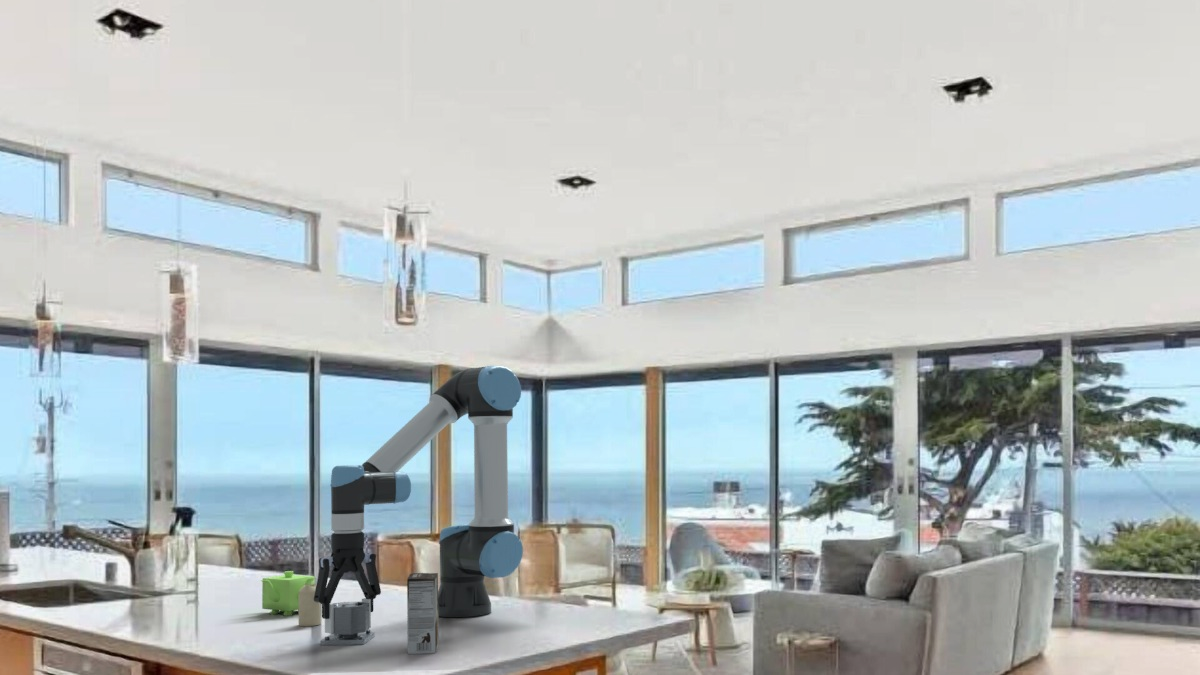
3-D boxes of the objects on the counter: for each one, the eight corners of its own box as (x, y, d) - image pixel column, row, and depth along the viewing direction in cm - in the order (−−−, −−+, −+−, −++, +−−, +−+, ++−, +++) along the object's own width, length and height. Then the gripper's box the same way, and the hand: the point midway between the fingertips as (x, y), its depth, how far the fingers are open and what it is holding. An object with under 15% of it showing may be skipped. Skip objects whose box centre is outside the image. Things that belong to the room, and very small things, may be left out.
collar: (375, 630, 250) (375, 604, 251) (340, 635, 244) (340, 608, 245) (351, 625, 258) (351, 600, 259) (317, 630, 252) (317, 604, 252)
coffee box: (410, 646, 241) (409, 573, 243) (439, 645, 242) (438, 572, 243) (406, 654, 232) (405, 578, 234) (436, 653, 233) (436, 577, 234)
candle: (314, 626, 271) (314, 586, 272) (294, 626, 272) (294, 586, 273) (324, 622, 277) (324, 583, 278) (304, 622, 278) (304, 583, 279)
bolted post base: (374, 636, 255) (374, 599, 256) (364, 644, 245) (364, 606, 246) (332, 637, 255) (332, 600, 256) (320, 645, 245) (320, 607, 246)
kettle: (315, 615, 290) (315, 572, 291) (260, 619, 286) (260, 576, 287) (315, 607, 304) (315, 566, 305) (263, 610, 301) (263, 569, 302)
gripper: (379, 527, 263) (379, 622, 261) (297, 534, 248) (297, 634, 246) (396, 528, 257) (396, 625, 255) (313, 536, 243) (313, 638, 240)
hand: (348, 629), depth 251 cm, fingers closed on collar, 9 cm apart
